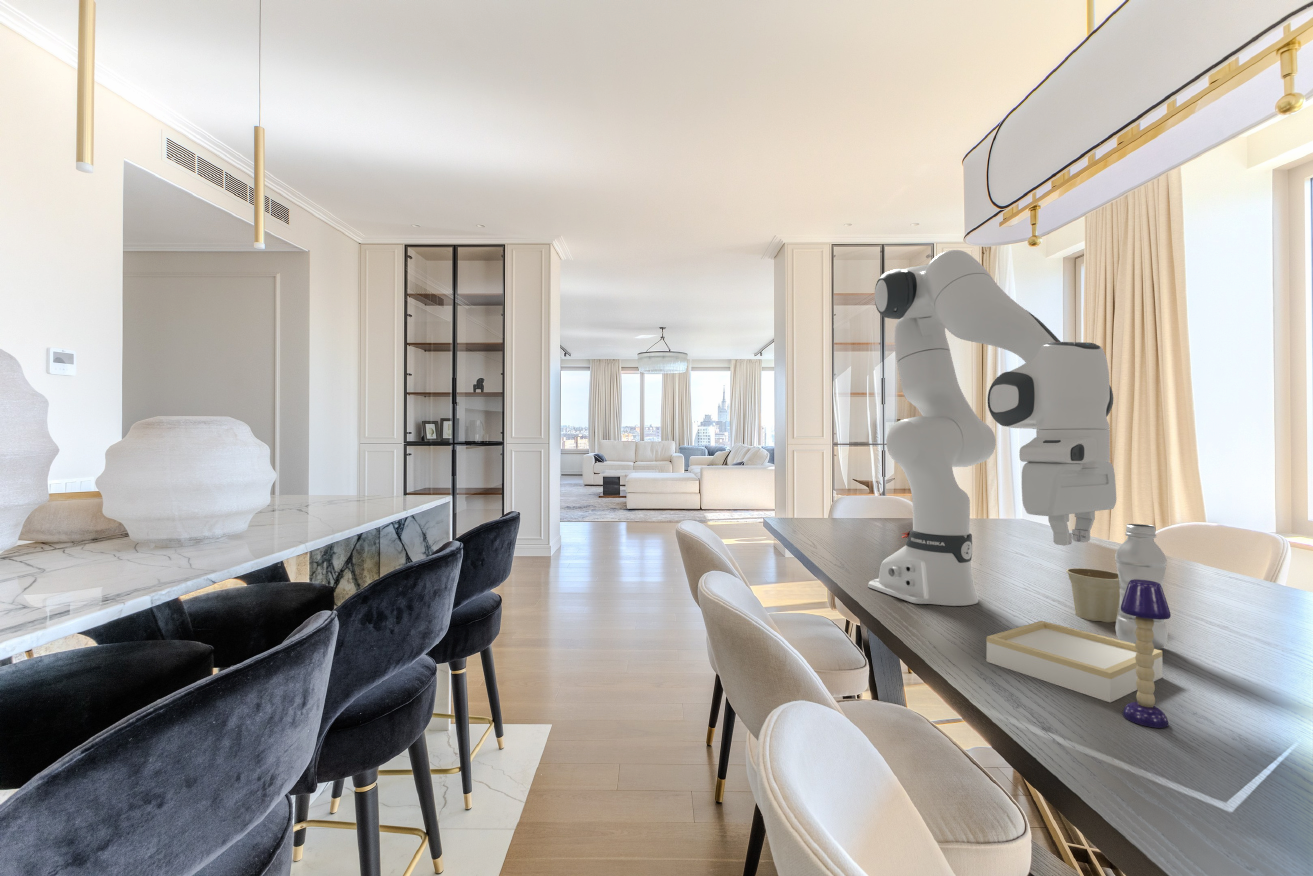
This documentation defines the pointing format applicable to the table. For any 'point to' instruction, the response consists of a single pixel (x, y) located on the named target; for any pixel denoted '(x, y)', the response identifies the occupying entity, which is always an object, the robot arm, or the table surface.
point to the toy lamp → (1145, 648)
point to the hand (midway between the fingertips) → (1072, 543)
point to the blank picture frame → (1070, 659)
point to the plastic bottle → (1139, 577)
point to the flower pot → (1095, 593)
